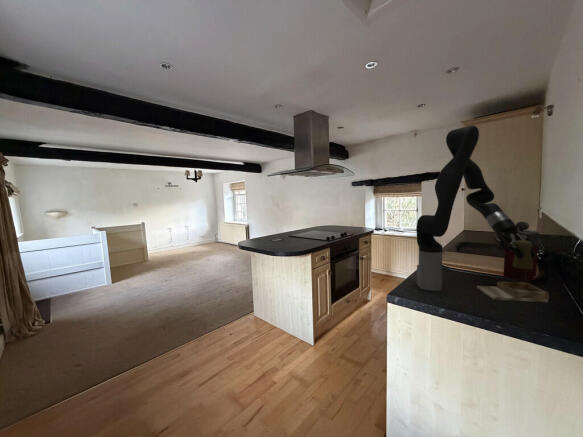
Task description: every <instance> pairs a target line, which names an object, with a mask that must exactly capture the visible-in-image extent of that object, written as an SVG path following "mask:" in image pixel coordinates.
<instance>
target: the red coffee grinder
mask: <svg viewBox="0 0 583 437" xmlns="http://www.w3.org/2000/svg"><path fill="white" fill-rule="evenodd" d="M515 225H516V226H517V227H518V232H519V233H521V234H522V235H526V234H528V235H529V236H530V237H531V239H532V241H533V243H534V245H535V246H533V247H532V250H533V251H534V252H535V253H536V257H534V258H532V263H533V269H520V268H516V267H513V262H514V257H515V254H514V253H513V252H512V251H510V250H505V249H504V254H503V255H504V257H503V277H504V278H508V279H512V280H517V281H522V282H523V283H528V282H530V281H534V280H535V279H534V278H533V277H534V276H536V277H537V268H538V265H537V264H538V252H539V250H538V249H539V238H540V237H539V236H540V235H539V231H537V230H528V229H529V228H530V224H529V223H528V222H527V221H524V220H523V221H518V222H517V223H515ZM504 245H505V246H507V245H506V244H504Z"/></svg>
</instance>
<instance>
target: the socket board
mask: <svg viewBox="0 0 583 437" xmlns="http://www.w3.org/2000/svg"><path fill="white" fill-rule="evenodd" d="M476 289H477V290H479V291H480V292H482V293H483V294H485V295H487V297H490V298H491V299H492V300H494V301H495V300H498V301H499V300H500V301H515V302H516V301H518V302H535V303H549V298H550V293H549V292H548V291H545V290H544V289H542V288H539V287H537V286H535V285H532V284H531V283H528V282H518V281H517V282H516V281H511V282H510V281H497V283H496V286H490V285H489V286H487V285H476Z"/></svg>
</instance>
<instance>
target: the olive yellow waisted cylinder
mask: <svg viewBox="0 0 583 437" xmlns="http://www.w3.org/2000/svg"><path fill="white" fill-rule="evenodd" d="M515 245H516V246H517V248H519V250H520V251H521V252H522V253H523V255H524V257H523V258H521V259H519V258H518V257H516V255H515V257H514V262H513V267H516V268H520V269H533V263H532V256H531V248H532V247H533V244H532V242H530V241H527V240H518V241H516V243H515Z"/></svg>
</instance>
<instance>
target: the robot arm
mask: <svg viewBox="0 0 583 437" xmlns="http://www.w3.org/2000/svg"><path fill="white" fill-rule="evenodd" d="M479 131H480V130H479V127H477V126H475V125H468V126H464V127H460V128H456V129H452V130H450V131H448V133H447V134H446V138H445V142H446V146H447V148H448V149H449V150H448V151H449V152H450V153H451V155H452V158H451V159H450V161H449V162H447V163H446V164H445V165H444V167H442V168H441V170H440V172H439V173H438V176H437V178H436V181H435V185H434V193H435V196H436V199H437V208H436V210H435V213H434V214H433V215H431V214H423V215H420V216H419V218H418V219H417V222H416V227H415V228H416V229H415V230H416V244H417V246H418V264H417V265H416V285H417V287H418V288H419V290H424V291H431V292H439V291H442V284H443V283H442V281H443V278H442V276H443V245H442V244H441V243H439V242H438V241H437V240H436V239H435V238H440V237H443V236H444V235H445V234H446V232H447V231H448V228H449V225H450V220H451V216H452V212H453V209H454V208H453V207H454V204H455V201H456V197H457V194H458V192H459V189H460V187H461V185H462V180H463V179H464V182H465V186H466V188H467V189H469V190H476V191H474V192H470V193H468V194H467V195H466V198H465V199H466V202H467V204H468V205H469V206H471V208H472V209H475V210H476V211H477V212H478V213H480V214H481V215H482V216H483V218H484V219H485V220H486V222H487V223H488V225H489V227H490V228H491V229H492V231H494V234H495V235H497V236H496V238H494V241H495V242H496V243H497V244H499V245H500V247H502V248H504V251H505V250H510V251H512V252H513V253H514V254H515V255H516V257H518V258H519V259H521V258H523V257H524V255H523V253H522V252H521V251H520V250H519V248H517V246H516V245H515V243H516V241H518V240H527V241H530V242H532V244H533V246H535V245H534V243H533V241H532V239H531V237H530V236H529V235H528V234H526V235H522V234H521V233H519V232H518V227H517V226H516V223H514V221H513V220H512V219H511V218H510V216H509V215H508V214H506V213H505V212H504V211H503V209H501V207H500V205H498V204H497V203H496V202H495V203H493V202H492V201H494V199H495V194H494V192H493V191H492V189H490V187H489V186H488V184H487V182H486V181H485V178H484V175H483V172H482V170H481V168H480V166H479V165H478V164H477V163H475V161H473V159H471V157H472V155H473V153H474V151H475V148H476V147H477V145H478V141H479V139H480V138H479V137H480V132H479ZM490 202H491V203H490ZM505 244H506V245H507V246H505ZM531 256H532V258H534V257H536V253H535V252H534V251H533V250H532V248H531Z"/></svg>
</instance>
